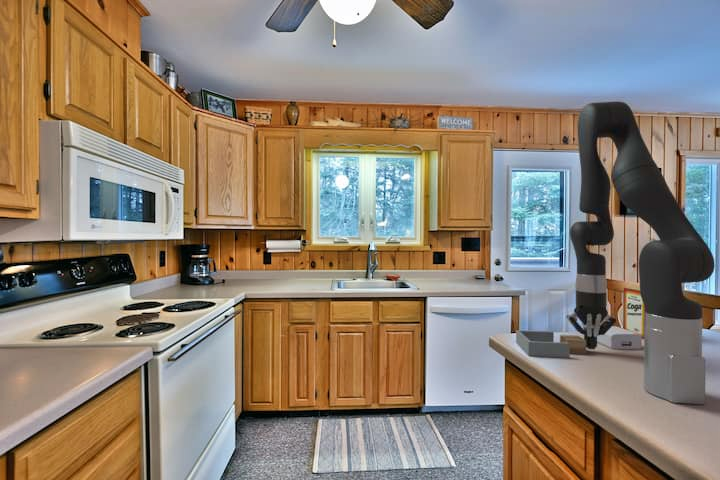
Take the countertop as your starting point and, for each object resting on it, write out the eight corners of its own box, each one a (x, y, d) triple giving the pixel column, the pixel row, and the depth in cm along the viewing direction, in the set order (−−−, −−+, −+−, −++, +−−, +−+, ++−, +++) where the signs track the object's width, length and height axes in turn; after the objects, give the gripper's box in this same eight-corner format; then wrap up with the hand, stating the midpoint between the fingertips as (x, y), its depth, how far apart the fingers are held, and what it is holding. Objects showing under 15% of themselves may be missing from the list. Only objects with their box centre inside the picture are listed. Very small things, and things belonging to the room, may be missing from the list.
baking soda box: (623, 331, 121) (623, 286, 120) (641, 331, 121) (642, 286, 120) (645, 340, 111) (646, 291, 111) (665, 339, 111) (666, 290, 111)
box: (569, 357, 95) (569, 343, 95) (528, 356, 97) (528, 342, 97) (552, 344, 107) (552, 331, 107) (516, 342, 109) (516, 330, 109)
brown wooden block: (586, 354, 98) (586, 340, 98) (567, 353, 99) (567, 339, 99) (577, 348, 103) (578, 335, 103) (560, 347, 104) (560, 334, 104)
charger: (605, 335, 118) (641, 349, 103) (578, 335, 117) (611, 350, 102) (605, 321, 117) (641, 334, 102) (578, 321, 117) (611, 334, 102)
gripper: (571, 291, 97) (571, 351, 98) (623, 292, 95) (623, 354, 95) (561, 287, 105) (560, 343, 105) (608, 288, 102) (608, 345, 103)
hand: (590, 348), depth 100 cm, fingers closed
